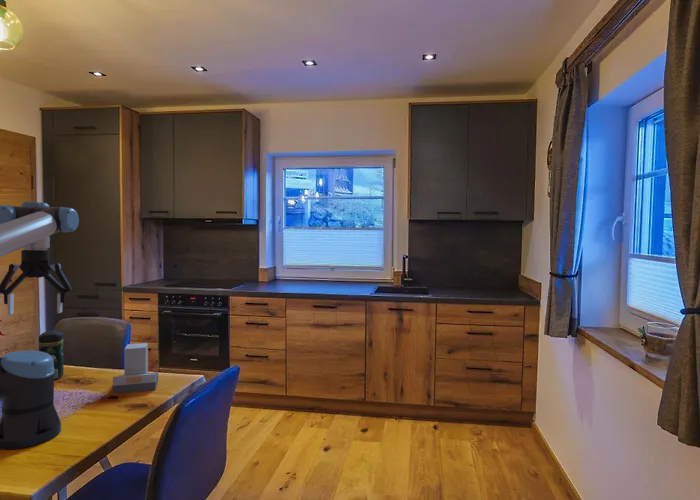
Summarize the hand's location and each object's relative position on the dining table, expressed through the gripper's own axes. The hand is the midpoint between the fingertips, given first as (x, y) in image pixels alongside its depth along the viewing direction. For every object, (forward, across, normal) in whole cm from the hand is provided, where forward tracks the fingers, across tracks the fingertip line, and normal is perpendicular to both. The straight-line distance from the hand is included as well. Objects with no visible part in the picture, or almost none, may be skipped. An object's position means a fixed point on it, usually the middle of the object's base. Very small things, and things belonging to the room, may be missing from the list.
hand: (35, 313), depth 139 cm
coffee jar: (+31, +4, -30) cm, 43 cm away
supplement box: (+28, -29, -10) cm, 41 cm away
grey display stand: (+31, -29, -10) cm, 43 cm away
